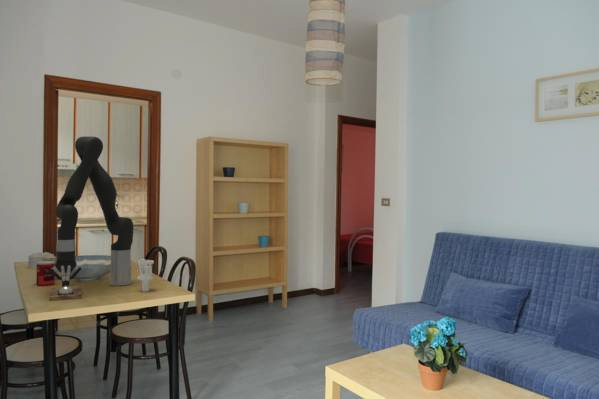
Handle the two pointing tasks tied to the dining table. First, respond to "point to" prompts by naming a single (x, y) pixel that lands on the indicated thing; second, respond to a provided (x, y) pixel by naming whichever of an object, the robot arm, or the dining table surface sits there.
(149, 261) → the white tall piece
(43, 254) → the lumpy-topped squat cylinder
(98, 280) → the dining table surface
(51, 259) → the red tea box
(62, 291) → the ball
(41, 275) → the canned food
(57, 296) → the wooden cutting board
